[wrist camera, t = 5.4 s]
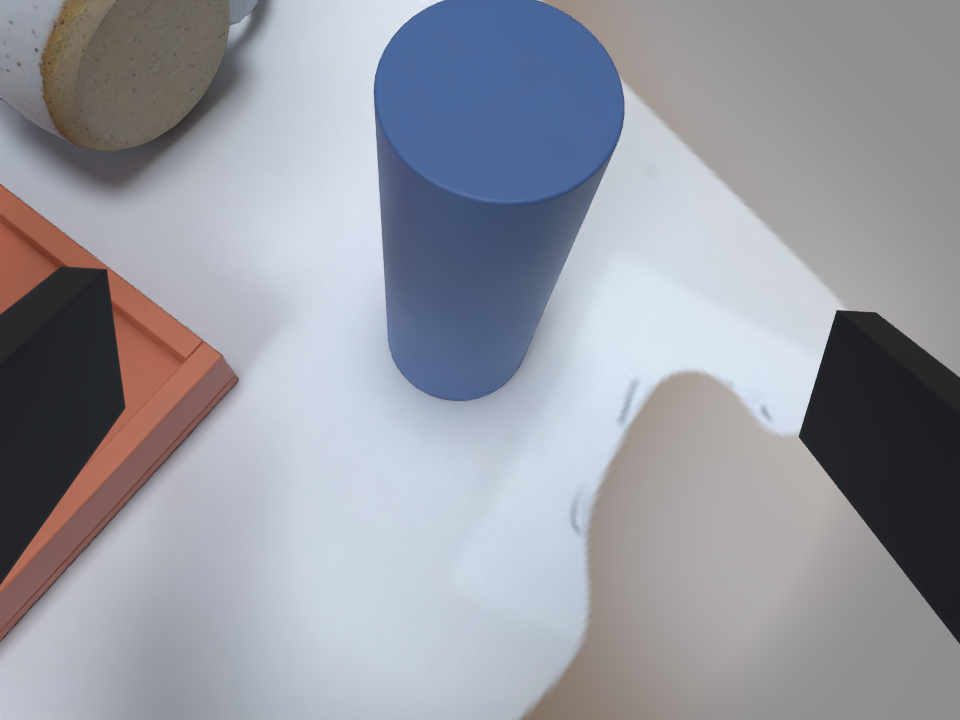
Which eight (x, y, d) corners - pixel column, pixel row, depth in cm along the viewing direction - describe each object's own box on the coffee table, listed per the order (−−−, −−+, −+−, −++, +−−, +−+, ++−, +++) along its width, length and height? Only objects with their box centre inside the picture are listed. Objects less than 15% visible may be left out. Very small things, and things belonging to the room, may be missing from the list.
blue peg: (553, 324, 25) (671, 79, 14) (471, 429, 24) (530, 253, 13) (444, 246, 26) (475, -49, 15) (359, 344, 25) (319, 104, 13)
